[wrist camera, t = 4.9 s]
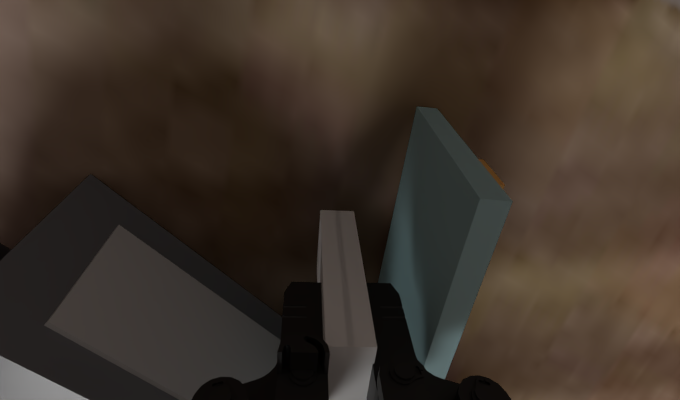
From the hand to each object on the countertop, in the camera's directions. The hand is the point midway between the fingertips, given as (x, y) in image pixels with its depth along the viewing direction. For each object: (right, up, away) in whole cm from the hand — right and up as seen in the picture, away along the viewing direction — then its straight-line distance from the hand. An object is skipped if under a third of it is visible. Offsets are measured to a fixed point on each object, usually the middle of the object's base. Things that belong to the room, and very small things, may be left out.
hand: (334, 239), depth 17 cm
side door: (+3, -2, +3) cm, 5 cm away
